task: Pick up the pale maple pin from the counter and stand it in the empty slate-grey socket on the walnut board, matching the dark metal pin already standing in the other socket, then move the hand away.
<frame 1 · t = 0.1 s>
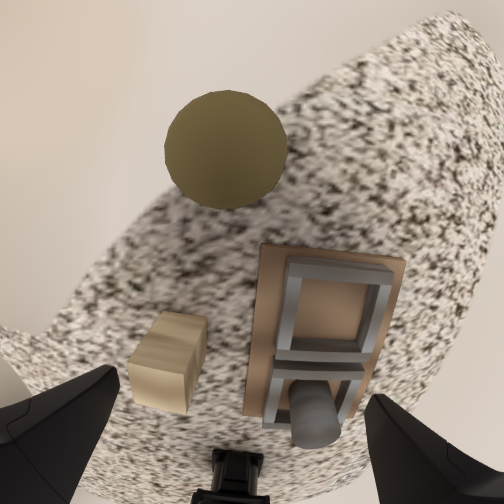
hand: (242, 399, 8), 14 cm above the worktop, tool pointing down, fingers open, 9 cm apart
maple pin: (185, 333, 24), on the worktop
layout board: (317, 346, 24), on the worktop
olive green peg figure: (243, 162, 20), on the worktop
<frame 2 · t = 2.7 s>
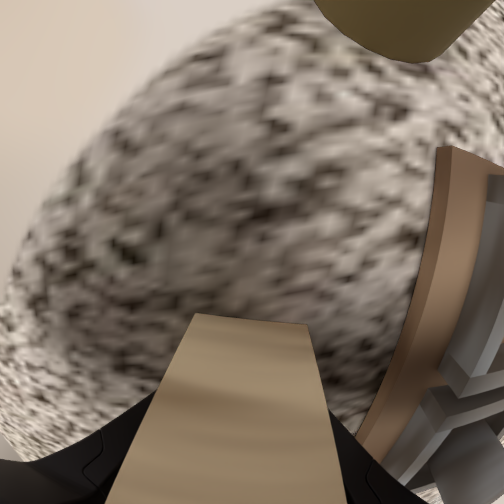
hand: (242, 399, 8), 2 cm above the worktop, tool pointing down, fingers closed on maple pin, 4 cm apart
maple pin: (246, 363, 10), on the worktop, touching gripper
layout board: (478, 359, 10), on the worktop
olive green peg figure: (383, 4, 7), on the worktop
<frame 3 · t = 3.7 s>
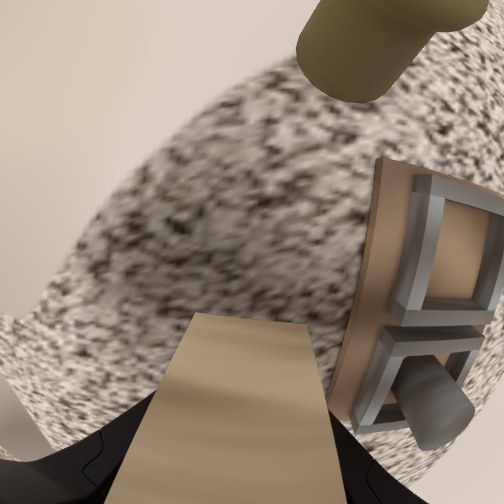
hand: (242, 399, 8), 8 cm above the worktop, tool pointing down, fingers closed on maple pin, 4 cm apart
maple pin: (246, 363, 10), point 6 cm above the worktop, touching gripper
layout board: (428, 312, 16), on the worktop
olive green peg figure: (346, 58, 13), on the worktop
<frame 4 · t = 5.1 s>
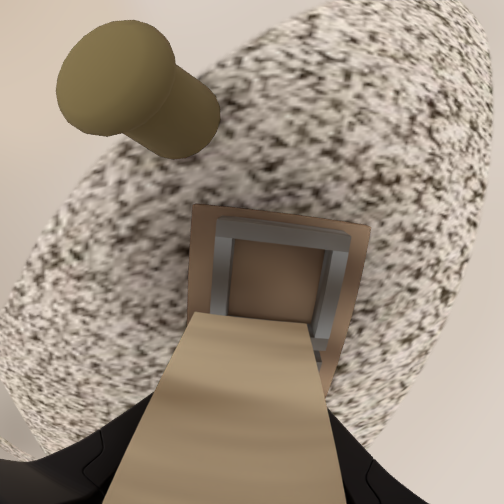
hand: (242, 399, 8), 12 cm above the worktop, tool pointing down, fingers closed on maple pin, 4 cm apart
maple pin: (245, 363, 10), point 10 cm above the worktop, touching gripper
layout board: (266, 330, 21), on the worktop
olive green peg figure: (178, 118, 18), on the worktop
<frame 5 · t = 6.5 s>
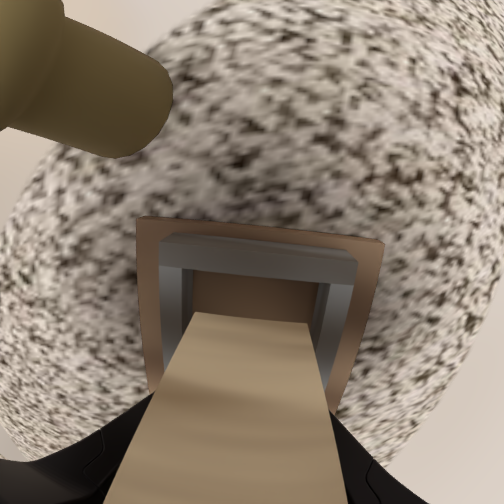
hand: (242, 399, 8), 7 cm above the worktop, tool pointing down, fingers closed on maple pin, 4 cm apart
maple pin: (246, 362, 10), point 5 cm above the worktop, touching gripper
layout board: (245, 375, 16), on the worktop
olive green peg figure: (122, 105, 12), on the worktop
when the fingers open (4 cm above the worktop, at t = 7.8 s): maple pin drops 1 cm, resting on layout board.
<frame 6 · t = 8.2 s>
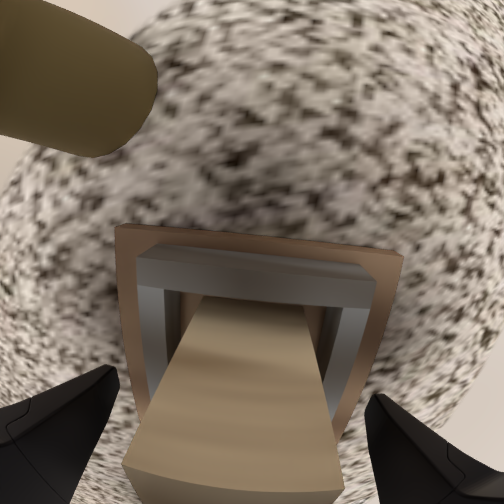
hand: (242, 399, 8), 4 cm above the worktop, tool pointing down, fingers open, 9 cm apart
maple pin: (248, 343, 12), point 1 cm above the worktop, touching layout board
layout board: (242, 399, 14), on the worktop
olive green peg figure: (102, 97, 10), on the worktop
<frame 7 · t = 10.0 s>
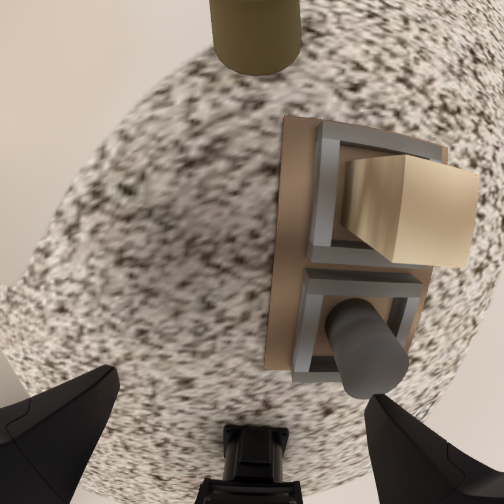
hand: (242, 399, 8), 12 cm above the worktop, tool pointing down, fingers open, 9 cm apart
maple pin: (372, 196, 17), point 1 cm above the worktop, touching layout board
layout board: (358, 259, 19), on the worktop
olive green peg figure: (257, 40, 15), on the worktop
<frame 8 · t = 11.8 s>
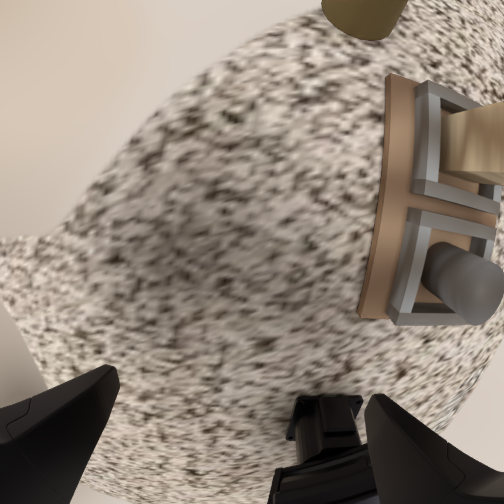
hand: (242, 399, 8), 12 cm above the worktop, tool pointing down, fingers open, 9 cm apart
maple pin: (455, 151, 16), point 1 cm above the worktop, touching layout board
layout board: (443, 207, 18), on the worktop
olive green peg figure: (357, 12, 14), on the worktop
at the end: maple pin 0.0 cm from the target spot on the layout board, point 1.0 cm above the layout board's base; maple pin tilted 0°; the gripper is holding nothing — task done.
